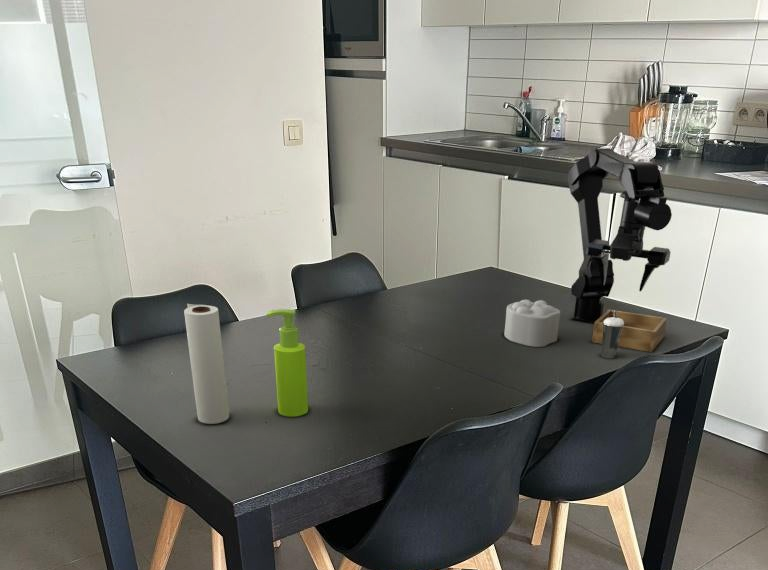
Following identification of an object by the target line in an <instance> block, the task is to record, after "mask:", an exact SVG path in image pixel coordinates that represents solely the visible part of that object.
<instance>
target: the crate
mask: <svg viewBox="0 0 768 570" xmlns="http://www.w3.org/2000/svg"><path fill="white" fill-rule="evenodd" d="M616 311H617V314H616V318H620V319H622V320H623V321H624V325H623V329H622V332H621V335H620V339H619V343H618V347H619V348H623V349H630V350H636V351H641V352H647V353H648V352H649V353H653V351H654V350H655V349H656V348H657V346H659V344H660V343H661V341H662V340H663V339H664V335H665V330H666V326H667V321H668V318H667V317H662V316H656V315H648V314H641V313H635V312H629V311H622V310H616ZM614 313H615V309H607V310H606V311H605V312H604V313H602V316H601V317H600V318H599V319H598V320H597V321H596V322H595V323H593V330H592V337H591V343H594V344H600V345H602V340H603V322H604V320H605V319H606V318H610V317H614ZM618 347H617V348H618Z"/></svg>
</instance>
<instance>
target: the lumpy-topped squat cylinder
mask: <svg viewBox="0 0 768 570" xmlns="http://www.w3.org/2000/svg"><path fill="white" fill-rule="evenodd" d="M505 311H506V313H505V324H504V332H503V333H504V337H505V338H506V339H507V340H508V341H510V342H513V343H517V344H519V345H523V346H528V347H534V348H543V347H546V346H547V345H550V344H552V343H555V342H557V341H558V335H559V326H560V319H561V310H560V309H558V308H556V307H554V306H553V305H550V304H548V303H547V301H545V300H542V299H539V300H536V301H531V300H530V299H521V300H520V301H515V302H513V303H510V304H508V305H507V306H506V310H505Z"/></svg>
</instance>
